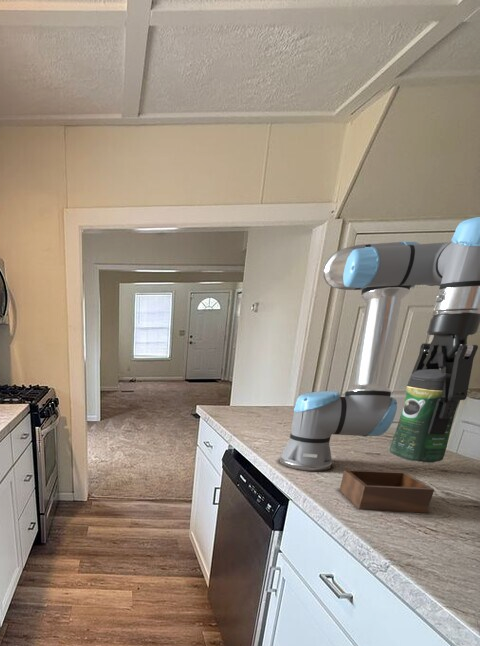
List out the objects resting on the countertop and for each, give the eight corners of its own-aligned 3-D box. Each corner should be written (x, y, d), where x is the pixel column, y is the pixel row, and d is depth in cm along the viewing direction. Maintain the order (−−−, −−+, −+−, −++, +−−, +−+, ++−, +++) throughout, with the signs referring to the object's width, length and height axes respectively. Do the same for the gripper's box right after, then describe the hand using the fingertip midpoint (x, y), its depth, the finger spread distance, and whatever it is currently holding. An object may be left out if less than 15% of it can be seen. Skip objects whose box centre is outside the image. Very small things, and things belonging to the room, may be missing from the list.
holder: (339, 490, 111) (344, 469, 109) (399, 493, 109) (405, 472, 106) (359, 509, 99) (364, 486, 97) (426, 512, 97) (434, 489, 95)
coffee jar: (450, 464, 83) (481, 371, 76) (411, 464, 83) (439, 371, 76) (416, 451, 92) (441, 367, 85) (381, 451, 92) (404, 367, 85)
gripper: (405, 315, 87) (379, 418, 96) (472, 310, 68) (432, 440, 76) (444, 314, 86) (414, 419, 95) (524, 309, 67) (477, 442, 75)
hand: (422, 428), depth 85 cm, fingers closed on coffee jar, 9 cm apart
